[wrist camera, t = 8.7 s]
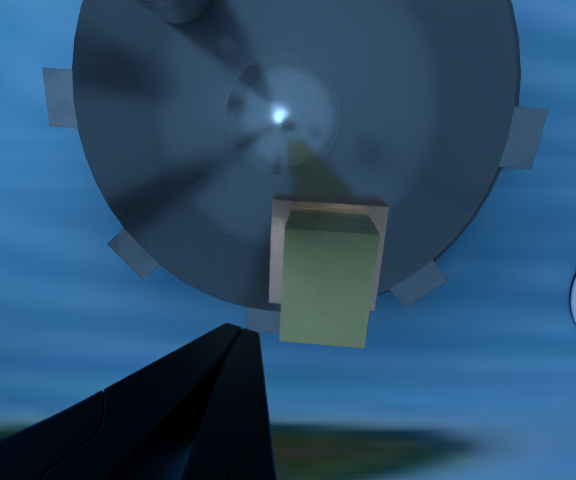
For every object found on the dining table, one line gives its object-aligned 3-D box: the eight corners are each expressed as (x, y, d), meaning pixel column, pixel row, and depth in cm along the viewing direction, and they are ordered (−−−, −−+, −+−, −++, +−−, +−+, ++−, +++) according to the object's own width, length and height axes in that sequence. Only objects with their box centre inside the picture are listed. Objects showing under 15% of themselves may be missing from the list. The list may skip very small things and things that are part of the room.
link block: (355, 303, 19) (364, 348, 15) (286, 297, 19) (279, 341, 15) (366, 210, 17) (379, 235, 14) (291, 205, 18) (284, 228, 14)
